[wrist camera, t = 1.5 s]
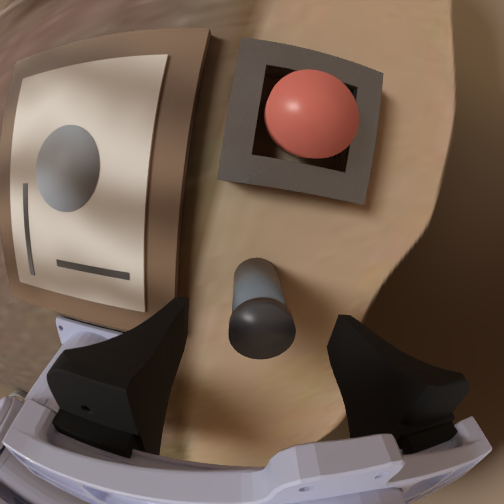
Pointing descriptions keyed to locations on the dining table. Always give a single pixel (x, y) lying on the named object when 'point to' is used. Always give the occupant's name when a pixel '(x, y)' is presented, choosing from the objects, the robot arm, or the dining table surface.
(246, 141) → the button housing
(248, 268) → the gray capped cylinder
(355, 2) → the dining table surface
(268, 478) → the robot arm
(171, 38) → the drawing board
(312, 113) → the button
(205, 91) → the dining table surface
